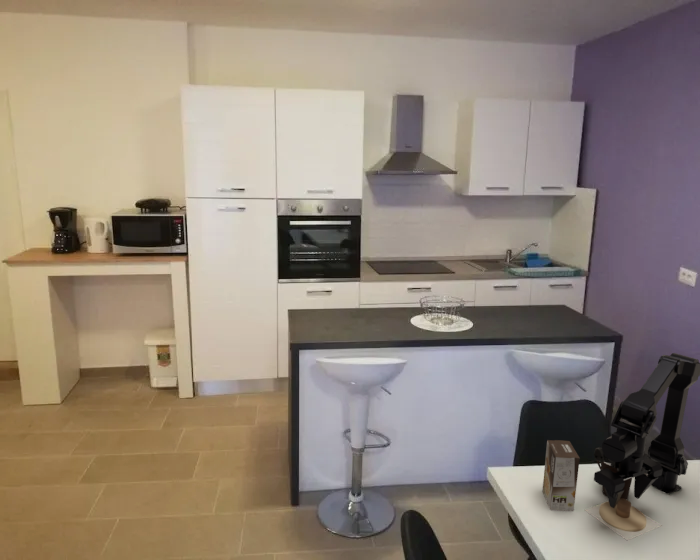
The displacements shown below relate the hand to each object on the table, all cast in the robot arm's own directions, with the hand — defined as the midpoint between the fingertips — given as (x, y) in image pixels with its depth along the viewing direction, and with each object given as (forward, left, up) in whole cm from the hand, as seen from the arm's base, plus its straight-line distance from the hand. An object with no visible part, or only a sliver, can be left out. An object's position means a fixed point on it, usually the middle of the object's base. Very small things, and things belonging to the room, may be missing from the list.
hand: (624, 502), depth 140 cm
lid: (0, 0, -4) cm, 4 cm away
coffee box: (+10, -12, -5) cm, 17 cm away
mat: (0, 0, -5) cm, 5 cm away
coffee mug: (-8, -9, -5) cm, 13 cm away
